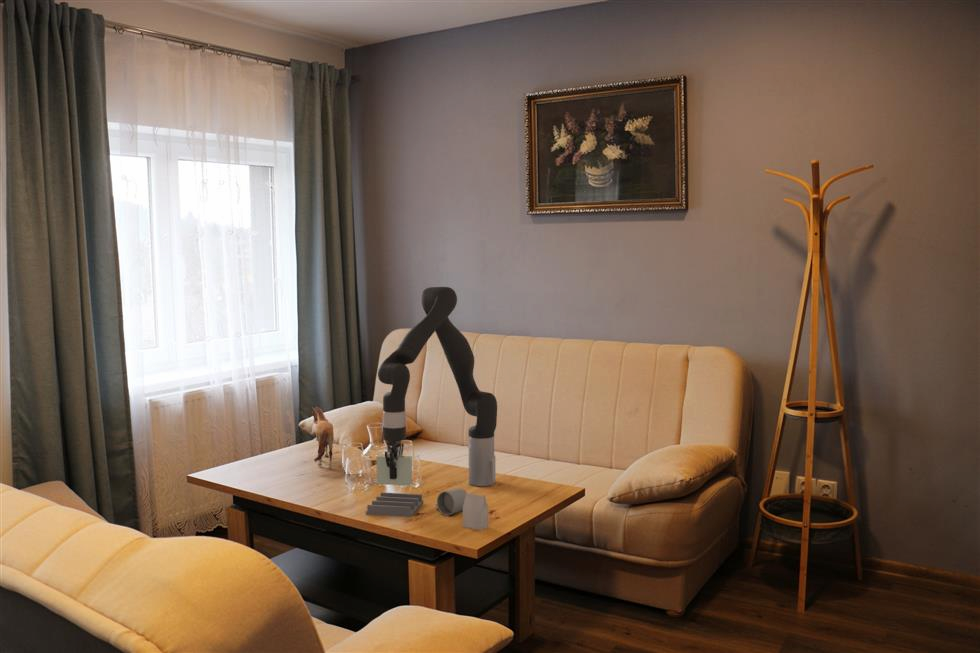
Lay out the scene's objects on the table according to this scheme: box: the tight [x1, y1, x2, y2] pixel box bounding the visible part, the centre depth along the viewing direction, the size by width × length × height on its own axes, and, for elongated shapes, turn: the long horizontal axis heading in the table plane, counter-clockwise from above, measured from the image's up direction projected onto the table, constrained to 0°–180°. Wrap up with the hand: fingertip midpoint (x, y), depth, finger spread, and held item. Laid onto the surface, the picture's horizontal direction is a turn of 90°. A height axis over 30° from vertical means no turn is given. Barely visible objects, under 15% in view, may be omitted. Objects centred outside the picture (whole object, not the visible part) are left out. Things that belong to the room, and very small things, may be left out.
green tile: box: [376, 454, 413, 487], centre depth 266 cm, size 11×2×9 cm, turn 80°
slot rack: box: [365, 491, 424, 518], centre depth 267 cm, size 15×14×3 cm
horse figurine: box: [311, 406, 335, 469], centre depth 325 cm, size 31×8×21 cm, turn 13°
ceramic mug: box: [435, 488, 467, 516], centre depth 265 cm, size 11×8×8 cm
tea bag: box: [462, 492, 489, 531], centre depth 249 cm, size 4×7×10 cm, turn 57°
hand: (394, 477), depth 267 cm, fingers closed on green tile, 2 cm apart
